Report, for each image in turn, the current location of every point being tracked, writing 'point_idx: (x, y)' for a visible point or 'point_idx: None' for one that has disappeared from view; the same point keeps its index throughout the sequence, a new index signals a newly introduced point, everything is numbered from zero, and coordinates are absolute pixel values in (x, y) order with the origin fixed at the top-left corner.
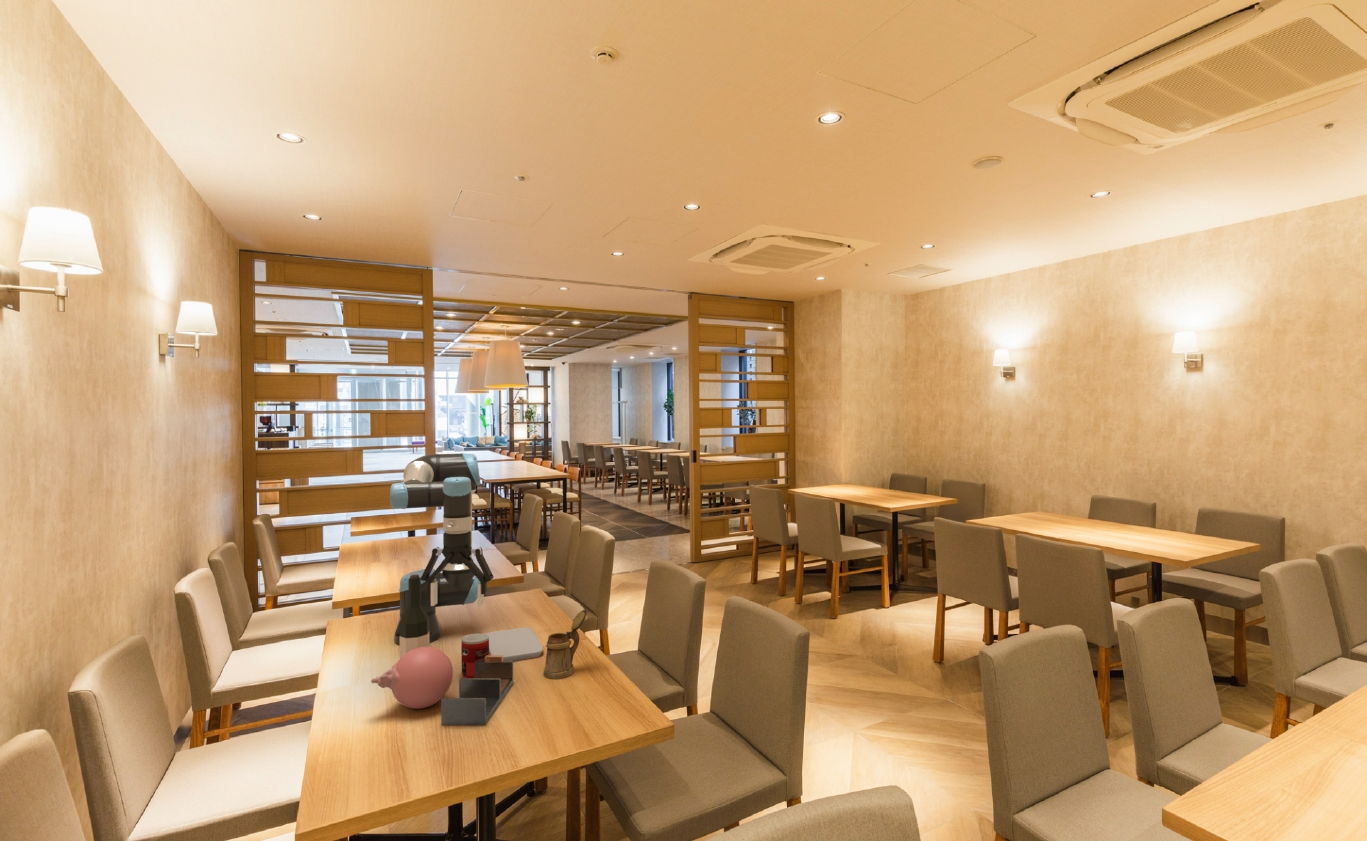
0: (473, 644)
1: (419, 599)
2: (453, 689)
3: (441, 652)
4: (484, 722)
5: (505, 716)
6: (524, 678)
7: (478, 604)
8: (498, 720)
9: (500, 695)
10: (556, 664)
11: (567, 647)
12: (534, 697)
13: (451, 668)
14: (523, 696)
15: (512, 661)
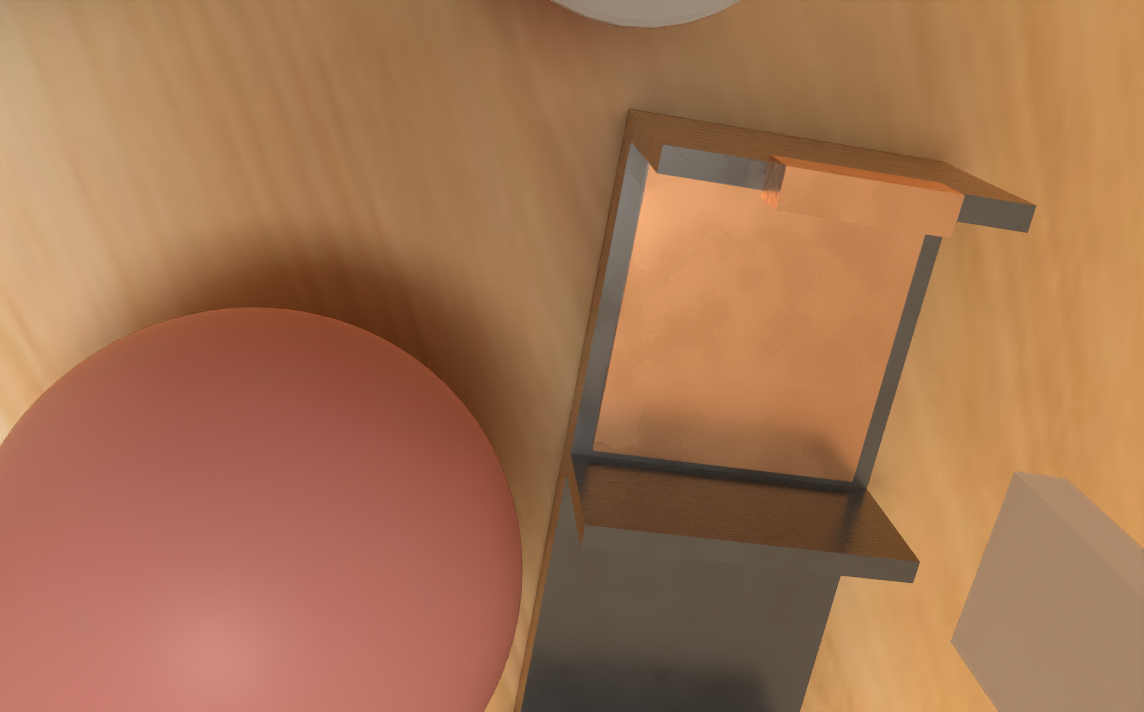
0: (644, 27)
1: None
2: (460, 202)
3: (412, 668)
4: None
5: (888, 652)
6: (1038, 63)
7: (984, 671)
8: (848, 692)
9: (869, 494)
10: None
11: None
12: (1083, 423)
13: (518, 591)
14: (1010, 399)
15: (1029, 209)
